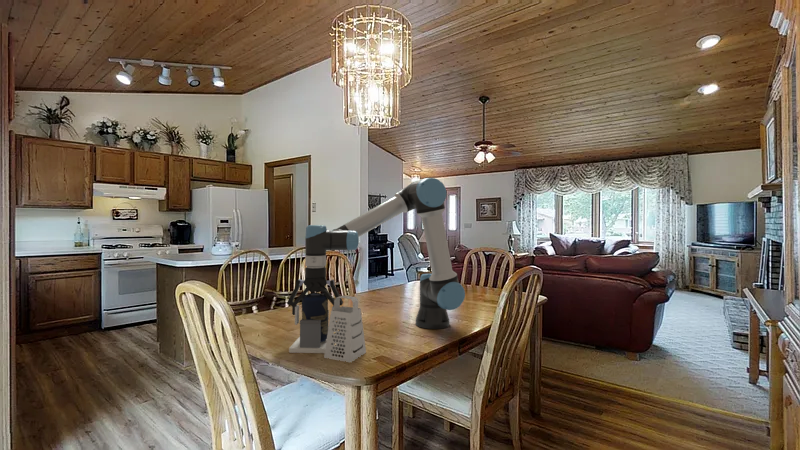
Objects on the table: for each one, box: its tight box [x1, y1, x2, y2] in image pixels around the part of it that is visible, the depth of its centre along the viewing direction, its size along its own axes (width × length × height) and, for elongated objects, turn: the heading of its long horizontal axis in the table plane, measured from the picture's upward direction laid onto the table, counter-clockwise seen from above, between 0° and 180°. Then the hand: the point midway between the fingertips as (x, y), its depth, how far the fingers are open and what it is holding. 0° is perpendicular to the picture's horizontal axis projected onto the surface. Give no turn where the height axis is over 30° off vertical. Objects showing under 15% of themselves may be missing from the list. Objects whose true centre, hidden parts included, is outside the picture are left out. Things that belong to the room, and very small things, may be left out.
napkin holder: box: [288, 309, 330, 354], centre depth 141 cm, size 14×17×11 cm
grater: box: [323, 295, 367, 363], centre depth 131 cm, size 10×10×20 cm
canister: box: [301, 292, 329, 342], centre depth 140 cm, size 10×10×18 cm
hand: (315, 323), depth 141 cm, fingers open, 13 cm apart
